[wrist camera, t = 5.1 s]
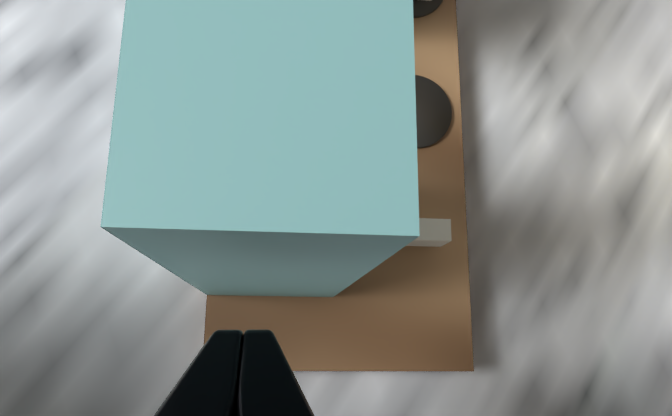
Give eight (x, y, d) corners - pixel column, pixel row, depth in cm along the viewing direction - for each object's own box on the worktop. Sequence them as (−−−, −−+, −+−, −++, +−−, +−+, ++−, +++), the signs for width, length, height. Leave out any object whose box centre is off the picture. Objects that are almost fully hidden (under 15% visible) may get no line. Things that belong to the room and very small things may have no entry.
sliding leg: (438, 298, 16) (668, 243, 7) (207, 294, 15) (100, 226, 6) (434, 181, 17) (633, -14, 7) (214, 173, 16) (131, -54, 7)
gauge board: (459, 369, 16) (475, 371, 15) (207, 368, 16) (201, 370, 14) (442, -21, 20) (455, -47, 18) (232, -38, 19) (229, -66, 18)
